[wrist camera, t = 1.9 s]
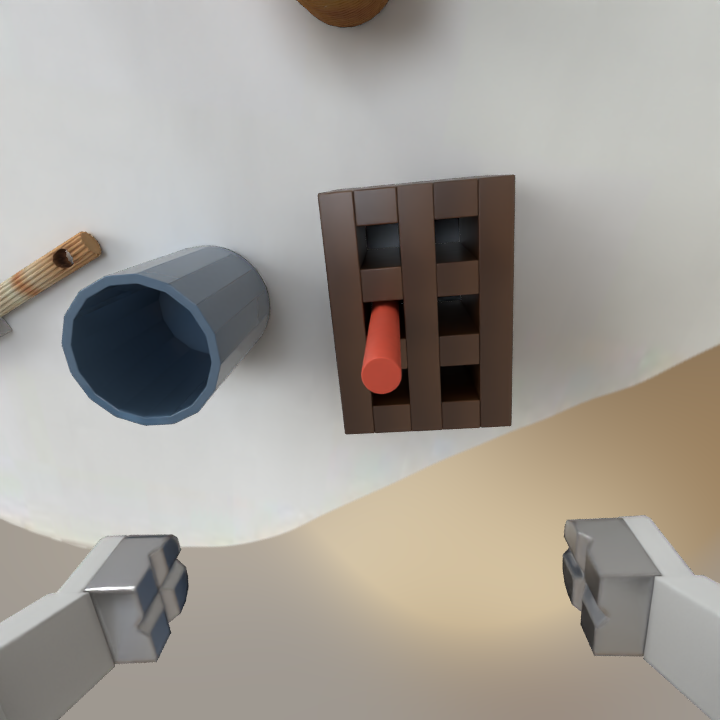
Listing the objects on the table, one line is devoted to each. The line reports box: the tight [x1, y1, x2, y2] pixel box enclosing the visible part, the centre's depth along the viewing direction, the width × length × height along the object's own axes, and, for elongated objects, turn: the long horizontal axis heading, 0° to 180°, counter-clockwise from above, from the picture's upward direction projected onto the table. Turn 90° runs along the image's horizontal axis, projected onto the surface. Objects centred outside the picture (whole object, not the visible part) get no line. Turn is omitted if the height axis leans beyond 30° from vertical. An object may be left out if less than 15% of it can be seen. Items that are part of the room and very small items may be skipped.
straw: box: [361, 300, 402, 394], centre depth 27 cm, size 2×2×16 cm
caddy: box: [318, 175, 515, 434], centre depth 30 cm, size 10×14×8 cm
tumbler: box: [62, 246, 270, 426], centre depth 30 cm, size 8×8×11 cm
